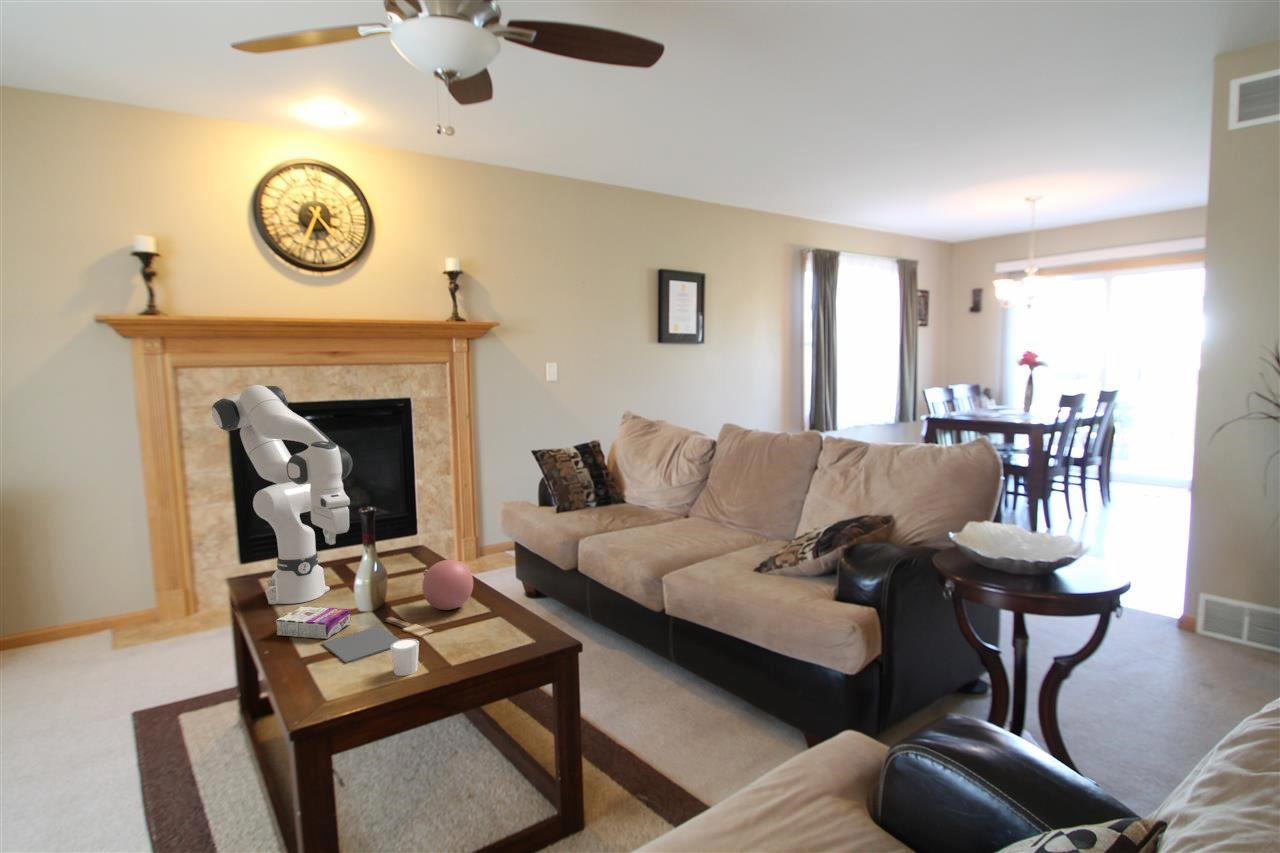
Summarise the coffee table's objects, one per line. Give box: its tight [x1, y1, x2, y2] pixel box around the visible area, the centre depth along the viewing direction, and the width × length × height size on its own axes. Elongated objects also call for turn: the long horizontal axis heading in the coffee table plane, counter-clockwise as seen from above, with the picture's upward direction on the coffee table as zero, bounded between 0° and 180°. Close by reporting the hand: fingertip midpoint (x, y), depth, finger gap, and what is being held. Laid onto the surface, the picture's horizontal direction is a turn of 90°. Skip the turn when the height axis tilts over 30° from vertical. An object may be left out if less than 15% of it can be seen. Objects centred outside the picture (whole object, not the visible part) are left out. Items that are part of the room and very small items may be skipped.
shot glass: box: [390, 638, 420, 677], centre depth 166 cm, size 7×7×7 cm
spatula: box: [385, 616, 434, 638], centre depth 193 cm, size 18×4×1 cm, turn 55°
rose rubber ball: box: [421, 559, 474, 611], centre depth 209 cm, size 15×20×15 cm
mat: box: [321, 625, 401, 664], centre depth 182 cm, size 17×16×1 cm
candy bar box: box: [275, 605, 352, 640], centre depth 192 cm, size 11×5×16 cm
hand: (330, 543), depth 194 cm, fingers closed
